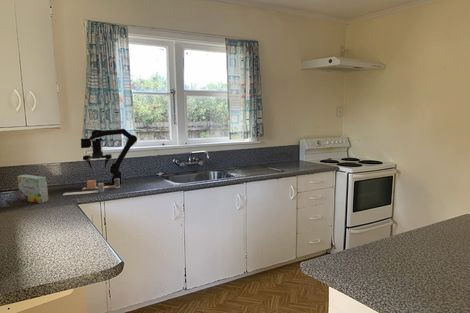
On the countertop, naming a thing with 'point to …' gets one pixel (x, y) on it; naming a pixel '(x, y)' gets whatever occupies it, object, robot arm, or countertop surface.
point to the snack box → (33, 188)
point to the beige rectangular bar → (117, 185)
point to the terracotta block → (91, 184)
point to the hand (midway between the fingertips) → (98, 168)
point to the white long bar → (100, 189)
